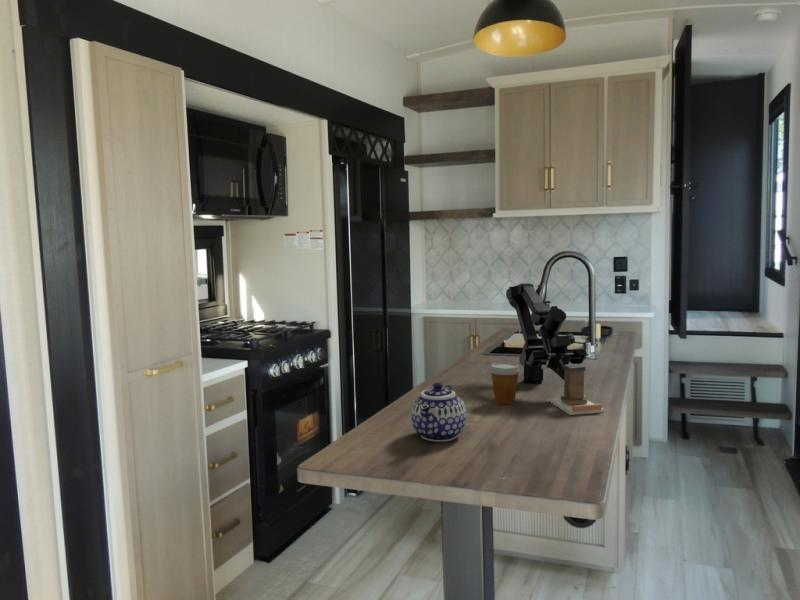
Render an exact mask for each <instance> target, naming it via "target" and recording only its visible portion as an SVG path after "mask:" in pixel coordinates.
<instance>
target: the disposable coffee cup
mask: <svg viewBox="0 0 800 600" xmlns="http://www.w3.org/2000/svg"><path fill="white" fill-rule="evenodd" d="M489 371H490V372H491V379H492V387H493V388H492V390H493V395H494V403H496V404H498V405H504V404H507V405H513V404H515V401H516V395H517V387H518V380H519V373H520V371H521V369H520V366H519V364H517V363H513V362H496V363H493V364H491V367H490V368H489Z"/></svg>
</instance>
